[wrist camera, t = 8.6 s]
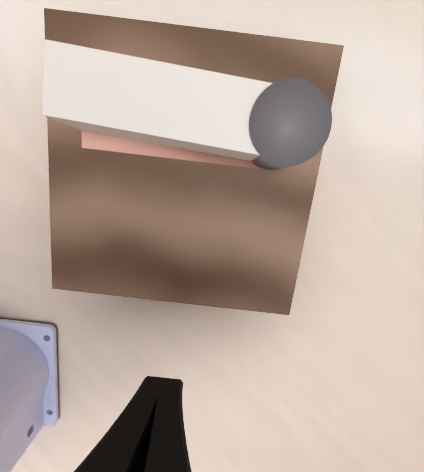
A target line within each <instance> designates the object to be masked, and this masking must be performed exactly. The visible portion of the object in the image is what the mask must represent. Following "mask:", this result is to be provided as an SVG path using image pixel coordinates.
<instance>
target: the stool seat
mask: <svg viewBox="0 0 424 472" xmlns="http://www.w3.org/2000/svg"><path fill="white" fill-rule="evenodd" d="M44 17H45V39H46V40H51V41H57V42H62V43H67V44H72V45H77V46H83V47H88V48H93V49H98V50H103V51H109V52H114V53H119V54H124V55H129V56H135V57H140V58H145V59H150V60H155V61H160V62H166V63H171V64H176V65H181V66H186V67H192V68H197V69H202V70H207V71H212V72H218V73H223V74H228V75H233V76H238V77H243V78H249V79H254V80H259V81H264V82H269V83H275V82H277V81H279V80H282V79H286V78H301V79H305V80H308V81H310V82H312V83H313V84H315V85H316V86H318V87H319V88H320V89H321V90H322V92H323V93H324V94H325V96H326V97H327V99H328V102H329V104H330V108H331V106H332V101H333V96H334V91H335V86H336V81H337V76H338V71H339V67H340V62H341V57H342V52H343V47H344V46H343V45H335V44H327V43H319V42H311V41H303V40H295V39H287V38H279V37H271V36H263V35H255V34H247V33H239V32H231V31H223V30H215V29H207V28H199V27H191V26H183V25H175V24H167V23H159V22H151V21H143V20H135V19H127V18H119V17H111V16H103V15H95V14H87V13H79V12H71V11H63V10H55V9H47V8H44ZM47 119H48V153H49V187H50V221H51V255H52V288H53V289H62V290H71V291H80V292H89V293H98V294H107V295H116V296H125V297H133V298H142V299H151V300H160V301H169V302H178V303H187V304H196V305H205V306H213V307H222V308H231V309H240V310H249V311H258V312H267V313H276V314H285V315H289V313H290V308H291V303H292V298H293V293H294V288H295V283H296V278H297V273H298V268H299V263H300V258H301V254H302V249H303V244H304V239H305V234H306V229H307V224H308V219H309V214H310V209H311V204H312V199H313V195H314V190H315V185H316V180H317V175H318V170H319V165H320V160H321V155H322V150H323V147H322V148H321V150H320V151H319V152H318V153H317V154H316V155H315V156H314V157H312V158H311V159H309V160H308V161H306V162H304V163H301V164H298V165H294V166H290V167H285V168H281V169H276V170H267V169H263V168H260V167H258V166H256V165H255V164H253V163H252V162H251V161H247V160H242V159H237V158H231V157H226V156H220V155H215V154H210V153H204V152H199V151H193V150H188V149H182V148H177V147H172V146H166V145H161V144H155V143H150V142H144V141H139V140H134V139H128V138H123V137H117V136H112V135H107V134H101V133H96V132H90V131H85V130H79V129H77V128H74V127H72V126H69V125H67V124H64V123H62V122H59V121H57V120H54V119H52V118H49V117H47Z"/></svg>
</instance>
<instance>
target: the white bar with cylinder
mask: <svg viewBox="0 0 424 472" xmlns="http://www.w3.org/2000/svg"><path fill="white" fill-rule="evenodd" d="M42 115H44V116H47V117H49V118H52V119H54V120H57V121H59V122H62V123H64V124H67V125H69V126H72V127H74V128H77V129H79V130H85V131H90V132H96V133H101V134H107V135H112V136H117V137H123V138H128V139H134V140H139V141H144V142H150V143H155V144H161V145H166V146H172V147H177V148H182V149H188V150H193V151H199V152H204V153H210V154H215V155H220V156H226V157H231V158H237V159H242V160H247V161H251V162H252V163H253V164H255V165H256V166H258V167H260V168H263V169H267V170H276V169H281V168H285V167H290V166H294V165H298V164H301V163H304V162H306V161H308V160H309V159H311V158H312V157H314V156H315V155H316V154H317V153H318V152H319V151H320V150H321V148H322V147H323V146H324V144H325V142H326V141H327V138H328V136H329V133H330V130H331V124H332V113H331V108H330V104H329V102H328V99H327V97H326V96H325V94H324V93H323V92H322V90H321V89H320V88H319V87H318V86H316V85H315V84H313V83H312V82H310V81H308V80H305V79H301V78H286V79H282V80H279V81H277V82H275V83H269V82H264V81H259V80H254V79H249V78H243V77H238V76H233V75H228V74H223V73H218V72H212V71H207V70H202V69H197V68H192V67H186V66H181V65H176V64H171V63H166V62H160V61H155V60H150V59H145V58H140V57H135V56H129V55H124V54H119V53H114V52H109V51H103V50H98V49H93V48H88V47H83V46H77V45H72V44H67V43H62V42H57V41H51V40H46V39H44V52H43V96H42Z"/></svg>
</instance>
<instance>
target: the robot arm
mask: <svg viewBox="0 0 424 472" xmlns="http://www.w3.org/2000/svg"><path fill="white" fill-rule="evenodd" d="M48 336H49V337H50V338H49V337H48ZM182 388H183V382H182V381H181V380H179V379H170V378H161V377H152V376H147V377H146V378H145V379H144V381H143V382H142V384H141V386H140V387H139V389H138V390H137V392H136V393H135V395H134V396H133V398H132V399H131V401H130V402H129V403H128V405H127V406H126V408H125V409H124V410H123V412H122V413H121V414H120V416H119V417H118V418H117V420H116V421H115V422H114V424H113V425H112V426H111V428H110V429H109V430H108V432H107V433H106V434H105V435H104V437H103V438H102V439H101V440H100V441H99V443H98V444H97V445H96V446H95V447H94V449H93V450H92V451H91V452H90V454H89V455H88V456H87V457H86V458H85V460H84V461H83V462H82V463H81V464H80V465H79V466H78V468H77V469H76V470H75V471H74V472H191V468H190V463H189V457H188V451H187V445H186V438H185V430H184V422H183V410H182ZM57 421H58V382H57V345H56V328H55V327H54V326H53V325H50V324H43V323H34V322H25V321H16V320H7V319H0V472H10V471H11V470H12V469H13V467H14V466H15V464H16V463H17V462H18V460H19V459H20V457H21V456H22V455H23V453H24V452H25V450H26V449H27V448H28V446H29V445H30V443H31V442H32V441H33V439H34V438H35V436H36V435H37V434H38V432H39V431H40V429H41V428H42V427H43V426H54V425H55V424H56V423H57Z"/></svg>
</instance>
